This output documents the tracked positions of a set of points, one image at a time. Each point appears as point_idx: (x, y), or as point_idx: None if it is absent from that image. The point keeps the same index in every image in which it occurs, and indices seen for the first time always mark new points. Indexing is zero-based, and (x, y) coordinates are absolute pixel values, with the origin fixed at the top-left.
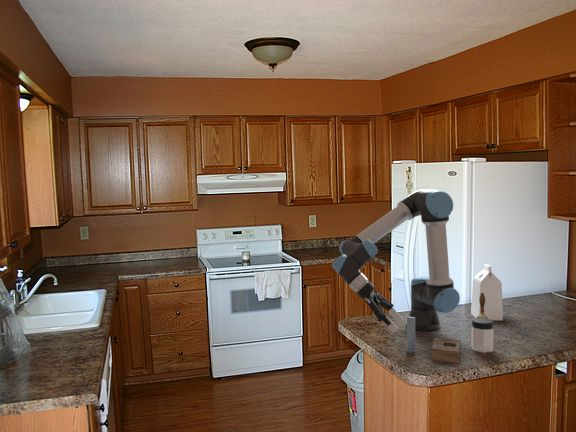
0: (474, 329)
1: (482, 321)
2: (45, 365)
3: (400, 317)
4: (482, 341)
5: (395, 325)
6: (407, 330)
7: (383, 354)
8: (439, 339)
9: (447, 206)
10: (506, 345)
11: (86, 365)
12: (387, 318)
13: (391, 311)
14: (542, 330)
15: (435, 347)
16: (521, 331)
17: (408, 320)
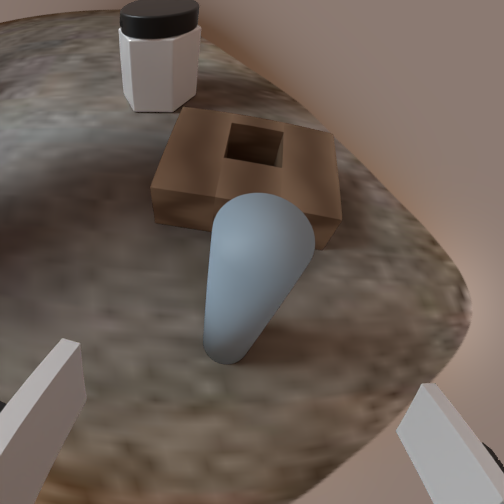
0: (178, 42)
1: (173, 5)
2: None
3: (65, 373)
4: (195, 65)
5: (449, 406)
6: (260, 326)
7: (308, 483)
8: (180, 170)
9: None
10: None
11: None
12: (497, 483)
13: (16, 487)
14: (45, 30)
15: (320, 201)
16: (37, 47)
17: (298, 278)
